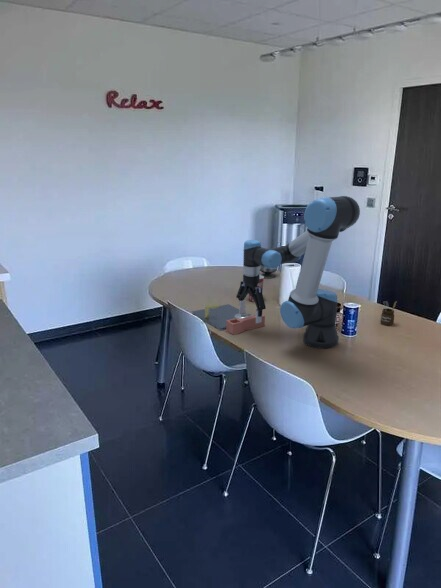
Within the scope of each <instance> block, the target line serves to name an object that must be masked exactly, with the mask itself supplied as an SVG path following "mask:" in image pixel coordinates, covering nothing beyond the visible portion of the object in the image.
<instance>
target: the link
mask: <svg viewBox="0 0 441 588" xmlns="http://www.w3.org/2000/svg"><path fill="white" fill-rule="evenodd" d="M265 322H266V315H264V314H262V322H261V323H256V314H255V315H252V316H249V317H245V318H240V319H237V318H236V319H231V320H227V321H226V330H225V331H226V332H227V333H230V334H231V335H236V334H237V335H238V334H240V333H243V332H244V331H249V330H252V329H256V328H257V329H258V328H260V327H265V325H266V323H265Z"/></svg>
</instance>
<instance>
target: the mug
mask: <svg viewBox="0 0 441 588" xmlns="http://www.w3.org/2000/svg"><path fill="white" fill-rule="evenodd" d="M259 275H260V279H259V283H258V284H257V287H258V288H262V293H263V292H264V291H263V289H264V279H265V278H264V276H261V275H262V274H259ZM255 294H256V293H255ZM248 300H249V301H250V302H253V303H255V301H254V299H253V297H252V296H251V295H250V294H248Z"/></svg>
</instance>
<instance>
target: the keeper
mask: <svg viewBox="0 0 441 588" xmlns="http://www.w3.org/2000/svg"><path fill="white" fill-rule="evenodd" d="M203 305H204V309H205V319H209V309H212V308H219V306H220V305H219V302H217V301H216V302H204V303H203Z"/></svg>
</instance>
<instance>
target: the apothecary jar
mask: <svg viewBox="0 0 441 588" xmlns="http://www.w3.org/2000/svg"><path fill="white" fill-rule="evenodd" d="M277 270H278V267H277V268H268V267H265V266H262V265H260V272H261V273H263V274H260V275H261V276H264V279H274V278H276V275H275V274H273V273H275V272H276V271H277Z"/></svg>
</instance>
